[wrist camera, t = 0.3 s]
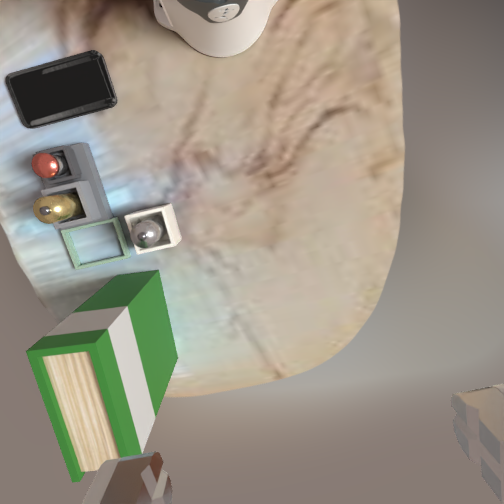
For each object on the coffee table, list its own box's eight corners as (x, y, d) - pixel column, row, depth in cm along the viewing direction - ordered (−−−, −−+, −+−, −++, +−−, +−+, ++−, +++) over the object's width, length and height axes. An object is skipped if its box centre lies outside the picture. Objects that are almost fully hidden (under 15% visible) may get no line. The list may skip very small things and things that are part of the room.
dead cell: (144, 217, 54) (125, 227, 46) (165, 212, 54) (149, 221, 45) (151, 238, 55) (133, 251, 46) (171, 233, 55) (157, 246, 46)
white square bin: (135, 211, 54) (124, 216, 49) (171, 203, 54) (163, 206, 49) (147, 246, 56) (137, 254, 51) (181, 238, 55) (175, 245, 50)
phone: (117, 104, 49) (24, 129, 50) (120, 106, 50) (29, 130, 51) (98, 47, 47) (2, 74, 48) (102, 50, 48) (8, 76, 49)
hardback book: (177, 357, 61) (133, 475, 38) (139, 362, 62) (72, 482, 38) (158, 269, 57) (95, 342, 34) (117, 275, 57) (25, 351, 34)
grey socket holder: (40, 155, 52) (18, 154, 47) (88, 143, 51) (71, 141, 46) (68, 227, 55) (50, 234, 50) (113, 217, 54) (100, 222, 49)
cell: (62, 194, 51) (25, 200, 43) (83, 189, 51) (51, 194, 43) (70, 217, 52) (36, 227, 44) (91, 212, 52) (61, 221, 44)
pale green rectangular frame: (64, 229, 55) (60, 230, 54) (117, 216, 54) (114, 218, 53) (79, 267, 57) (75, 270, 55) (131, 256, 56) (128, 258, 55)
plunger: (42, 156, 48) (27, 156, 45) (64, 151, 48) (50, 150, 45) (51, 179, 49) (37, 180, 46) (72, 174, 49) (60, 174, 46)
